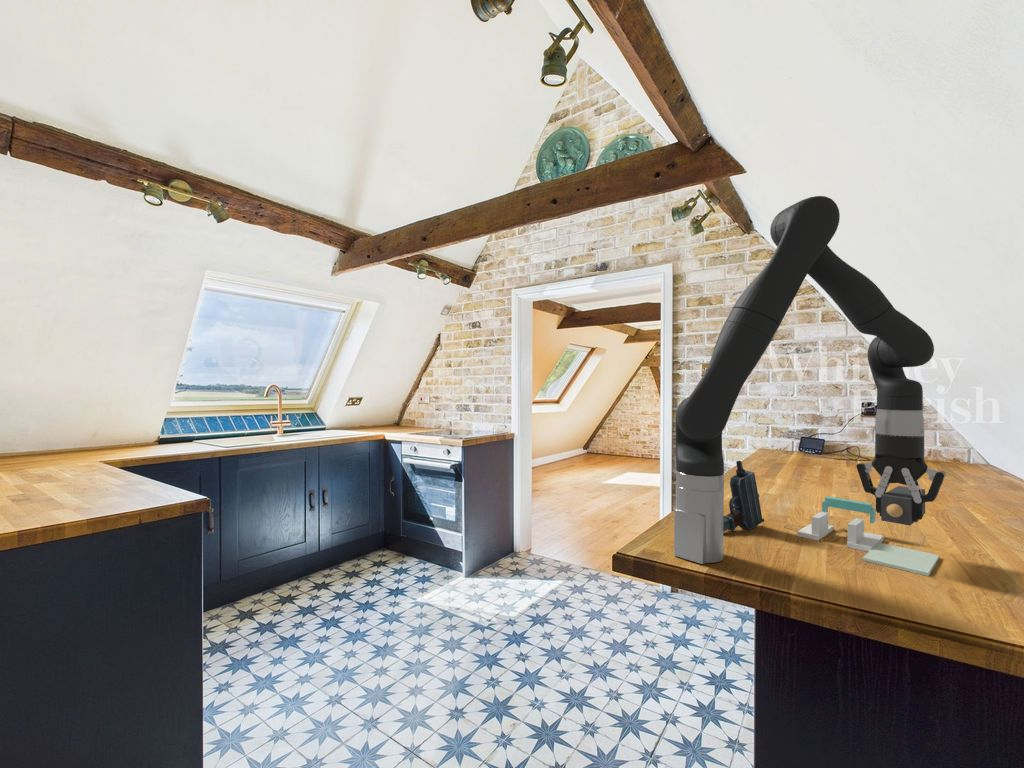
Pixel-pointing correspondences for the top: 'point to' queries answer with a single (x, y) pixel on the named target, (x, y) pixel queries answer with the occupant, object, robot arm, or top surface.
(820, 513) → the clamp
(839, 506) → the teal drawer handle
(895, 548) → the mat
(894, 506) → the grey block with knob
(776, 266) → the robot arm
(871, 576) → the top surface
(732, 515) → the gun
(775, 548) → the top surface
